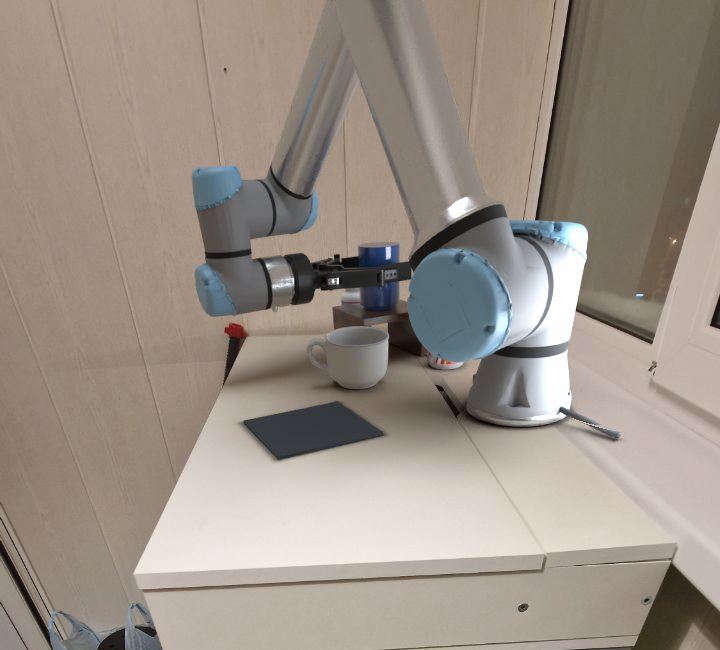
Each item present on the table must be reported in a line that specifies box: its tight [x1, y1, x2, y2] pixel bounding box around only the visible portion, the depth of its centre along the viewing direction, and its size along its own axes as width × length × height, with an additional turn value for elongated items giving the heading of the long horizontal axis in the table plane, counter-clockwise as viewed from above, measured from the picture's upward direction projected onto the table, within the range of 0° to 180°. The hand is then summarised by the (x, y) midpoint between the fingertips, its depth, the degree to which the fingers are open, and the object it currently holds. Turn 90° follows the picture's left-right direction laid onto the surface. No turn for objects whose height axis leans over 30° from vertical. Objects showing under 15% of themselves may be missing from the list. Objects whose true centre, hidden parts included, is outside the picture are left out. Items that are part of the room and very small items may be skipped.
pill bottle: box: [340, 288, 360, 306], centre depth 118 cm, size 6×6×11 cm
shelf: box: [331, 298, 428, 357], centre depth 110 cm, size 14×14×8 cm
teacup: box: [305, 326, 389, 390], centre depth 95 cm, size 14×11×8 cm
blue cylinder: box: [357, 241, 401, 311], centre depth 104 cm, size 8×8×10 cm
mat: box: [242, 400, 384, 460], centre depth 82 cm, size 16×16×1 cm
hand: (390, 266), depth 104 cm, fingers open, 13 cm apart
